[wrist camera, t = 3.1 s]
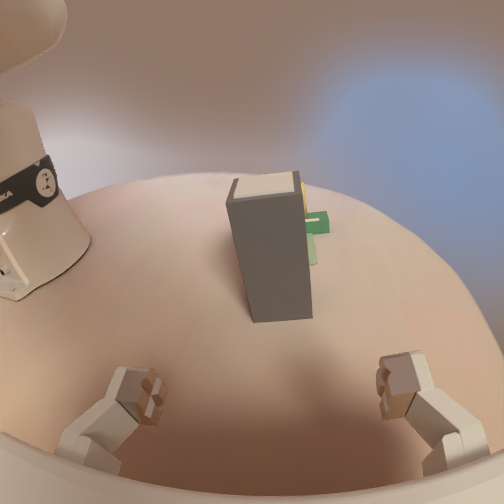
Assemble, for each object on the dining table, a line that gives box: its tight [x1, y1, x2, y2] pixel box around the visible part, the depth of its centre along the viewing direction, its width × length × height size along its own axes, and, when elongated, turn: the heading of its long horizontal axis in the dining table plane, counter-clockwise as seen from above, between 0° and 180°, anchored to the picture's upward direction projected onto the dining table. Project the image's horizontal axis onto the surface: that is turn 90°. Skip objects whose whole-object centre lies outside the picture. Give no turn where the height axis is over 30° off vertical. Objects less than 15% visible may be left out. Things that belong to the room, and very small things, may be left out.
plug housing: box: [226, 171, 313, 323], centre depth 22 cm, size 4×4×10 cm
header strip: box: [300, 181, 329, 234], centre depth 33 cm, size 10×2×6 cm, turn 85°
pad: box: [307, 233, 318, 265], centre depth 31 cm, size 6×5×1 cm
